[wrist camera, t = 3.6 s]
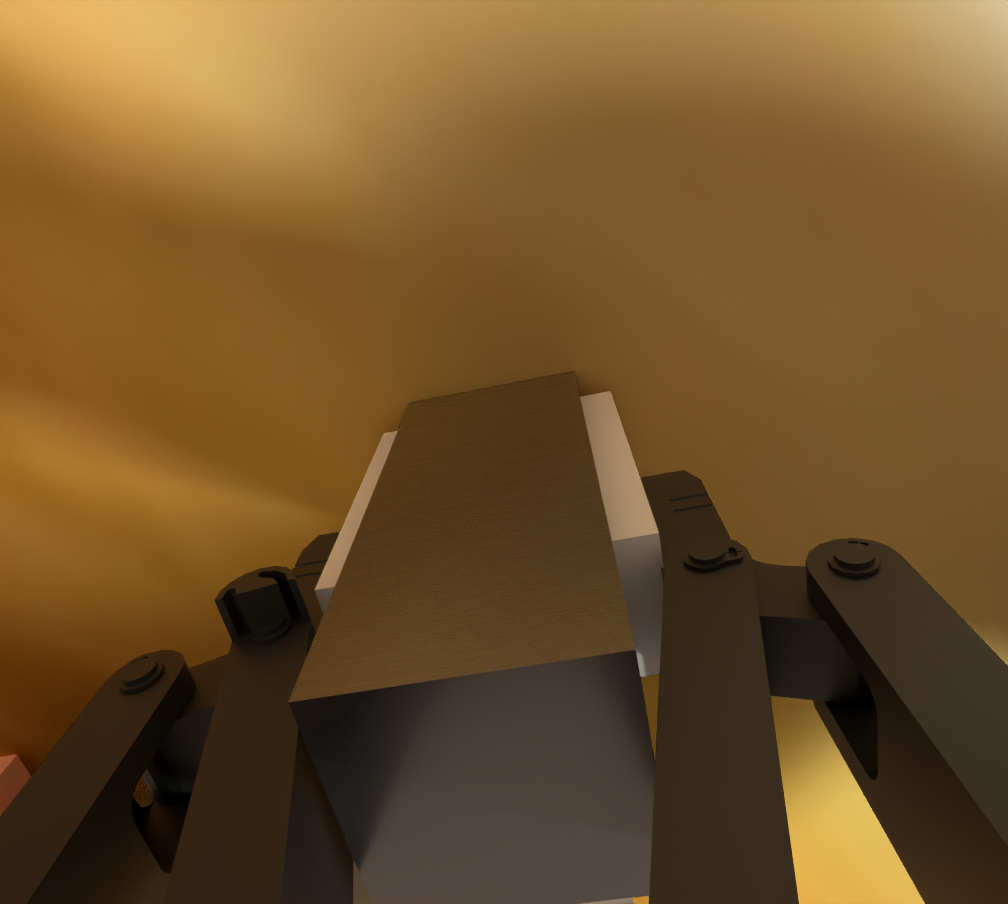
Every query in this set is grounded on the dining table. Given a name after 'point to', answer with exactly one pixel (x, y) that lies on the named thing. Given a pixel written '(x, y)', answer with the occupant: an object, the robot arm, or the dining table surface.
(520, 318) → the dining table surface
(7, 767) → the cube
